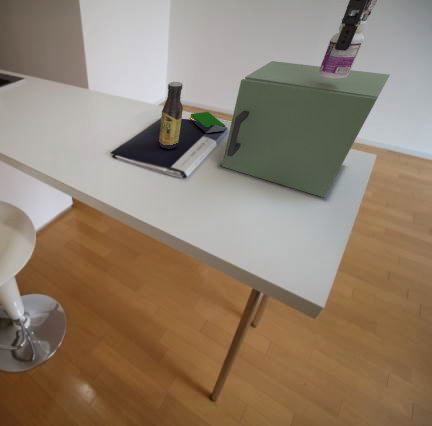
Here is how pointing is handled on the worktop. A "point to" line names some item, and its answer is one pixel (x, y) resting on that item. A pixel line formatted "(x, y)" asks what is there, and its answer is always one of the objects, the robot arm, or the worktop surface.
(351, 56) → the pill bottle
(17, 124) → the worktop surface
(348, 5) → the robot arm
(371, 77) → the cupboard
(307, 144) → the cupboard door
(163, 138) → the sauce bottle
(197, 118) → the dish sponge
